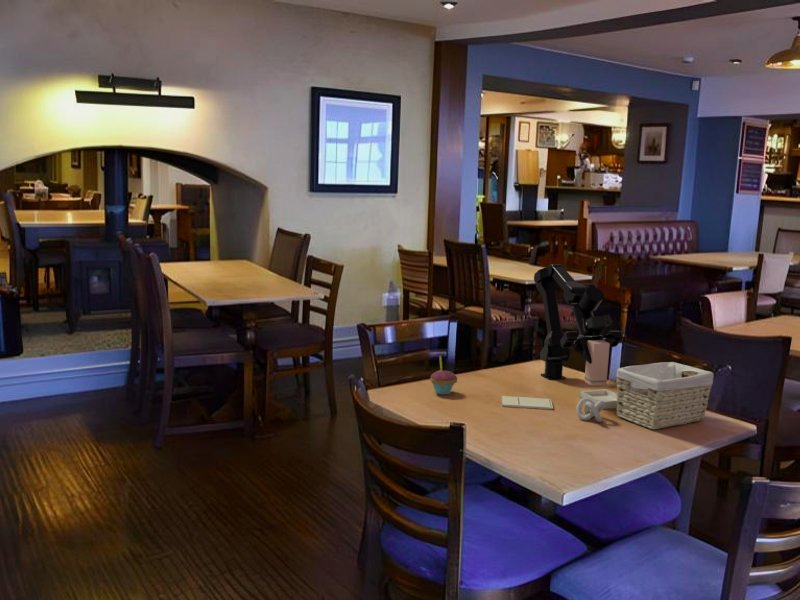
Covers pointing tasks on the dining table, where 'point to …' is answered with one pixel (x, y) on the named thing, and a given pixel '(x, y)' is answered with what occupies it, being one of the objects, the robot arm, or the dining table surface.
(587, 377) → the pinkish tall block
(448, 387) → the cupcake
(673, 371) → the storage basket
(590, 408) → the knot
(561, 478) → the dining table surface
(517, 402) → the ticket book
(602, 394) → the bill dish
